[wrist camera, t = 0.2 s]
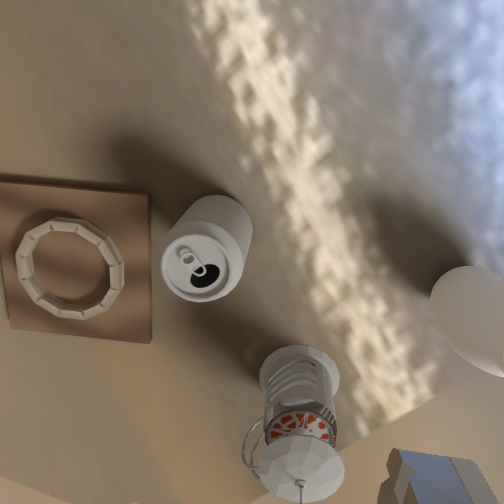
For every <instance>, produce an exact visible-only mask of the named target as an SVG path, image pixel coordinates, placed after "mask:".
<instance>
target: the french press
mask: <svg viewBox="0 0 504 504" xmlns="http://www.w3.org/2000/svg"><path fill="white" fill-rule="evenodd" d="M339 378H340V374H339V372H338V369H337V367H336V364H335V362H334V361H333V360H332V359H331V358H330V357H329V356H328V355H327V354H326V353H325V352H323V351H321V350H319V349H316V348H314V347H311V346H308V345H290V346H287V347H283V348H280V349H277V350H276V351H275V352H273V353H272V354H271V355H269V356H268V357H267V358H266V359H265V361H264V363H263V365H262V367H261V369H260V385H261V388H262V390H263V392H264V394H265V396H266V399H265V411H264V416H263V417H262V418H261V419H259V420H258V421H257V422H256V423H255V424H254V425H253V426H252V427H251V428H250V430H249V432H248V433H247V435H246V437H245V440H244V442H243V447H242V454H241V456H242V460H243V462H244V464H245V465H246V466H247V467H249V468H251V470H252V473H253V475H254V477H256V478H258V479H260V480H261V481H262V483H263V485H264V486H265V487H266V488H267V489H268V490H269V491H270V492H272V493H273V494H274V495H275V496H277V497H280V498H283V499H286V500H288V501H292V502H300V504H302V503H308V502H313V501H318V500H323V499H324V498H326V497H328V496H329V495H331V494H333V493H334V492H336V491H337V489H338V488H339V486H340V485H341V483H342V482H343V479H344V471H345V467H344V465H343V462H342V460H341V457H340V454H339V453H338V452H337V451H336V450H335V449H334V446H335V439H336V433H337V422H336V414H335V406H334V399H333V396H334V395H335V393H336V391H337V390H338V388H339ZM270 400H271V402H270ZM273 405H274V410H273V419H272V420H271V421H270V423H269V412H270V409H271V407H272V406H273ZM325 406H326V409H325V410H324V412H323V413H322V414H319V413H320V412H321V411H322V409H323V408H324V407H325ZM328 409H329V412H328V414H327V416H326V417H325V418H324V417H323V416H324V415H325V414H326V412H327V411H328ZM331 412H332V413H333V414H332V416H331V418H330V420H329V421H327V419H328V418H329V416H330V414H331ZM333 417H334V418H335V419H334V422H333V424H331V421H332V419H333ZM263 419H264V433H263V434H262V435H261V436H260V438H259V439H258V440H257V442H256V444H255V446H254V448H253V450H252V453H251V460H250V465H249V464H247V462H246V460H245V457H244V450H245V445H246V441H247V439H248V437H249V435H250V433H251V431H252V430H253V429H254V428H255V426H256V425H257V424H258V423H259V422H261V421H262V420H263ZM264 435H265V441H266V443H267V445H268V446H267V447H266V448H265V449H264V451H263V452H262V454H261V456H260V457H259V459H258V467H254V466H253V455H254V452H255V449H256V447H257V444H258V442H259V441H260V440H261V438H262V437H263V436H264ZM254 469H256V470H258V475H259V476H258V475H256V474H255V472H254Z"/></svg>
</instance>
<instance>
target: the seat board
mask: <svg viewBox="0 0 504 504" xmlns="http://www.w3.org/2000/svg"><path fill="white" fill-rule="evenodd" d="M0 255H1V262H2V269H3V276H4V283H5V290H6V297H7V304H8V311H9V318H10V325H11V329H19V330H28V331H37V332H46V333H55V334H64V335H73V336H82V337H91V338H100V339H109V340H118V341H127V342H135V343H144V344H149V343H150V341H151V340H152V287H151V194H150V193H141V192H130V191H119V190H109V189H98V188H87V187H76V186H65V185H55V184H44V183H33V182H22V181H11V180H1V179H0Z"/></svg>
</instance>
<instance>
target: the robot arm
mask: <svg viewBox="0 0 504 504" xmlns="http://www.w3.org/2000/svg"><path fill="white" fill-rule="evenodd" d="M387 469H388V472H389V475H390V477H389V478H388V479H387V480H385V481H384V482H383V483H382V484H381V486H380V491H379V494H378V500H377V504H500V503H499V502H498V500H497V498H496V496H495V495H494V493H493V491H492V490H491V488H490V486H489V485H488V483H487V481H486V479H485V478H484V476H483V474H482V473H481V471H480V469H479V467H478V466H477V464H476V463H474V462H473V461H471V460H469V459H462V458H455V457H449V456H445V457H444V456H438V455H432V454H426V453H420V452H414V451H408V450H403V449H397V448H393V449H392V451H391V453H390V455H389V458H388V461H387Z"/></svg>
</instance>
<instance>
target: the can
mask: <svg viewBox="0 0 504 504" xmlns="http://www.w3.org/2000/svg"><path fill="white" fill-rule="evenodd" d="M252 232H253V229H252V223H251V219H250V217H249V215H248V213H247V211H246V210H245V209H244V208H243V206H242V205H241V204H240V203H239V202H237V201H235V200H233V199H231V198H229V197H227V196H221V195H210V196H205V197H203V198H201V199H199V200H197V201H195V202H194V203H193V204H192V205H191V206H190V207H189V208H188V210H187V211H186V212H185V213H184V214H183V216H182V217H181V218H180V219H179V220H178V221H177V223H176V224H175V225H174V226H173V227H172V229H171V230H170V231H169V232H168V233H167V235H166V236H165V237H164V239H163V241H162V243H161V245H160V247H159V254H158V263H159V268H160V272H161V274H162V277H163V279H164V281H165V282H166V284H167V286H168V287H169V288H170V289H171V290H172V291H173V292H174V293H175V294H176V295H178V296H180V297H182V298H184V299H186V300H189V301H194V302H207V301H211V300H216V299H218V298H220V297H223V296H225V295H227V294H228V293H229V292H230V291H231V290H232V289H234V288H235V287H236V285H237V283H238V281H239V279H240V278H241V275H242V272H243V268H244V264H245V261H246V257H247V253H248V250H249V246H250V242H251V237H252Z"/></svg>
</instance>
